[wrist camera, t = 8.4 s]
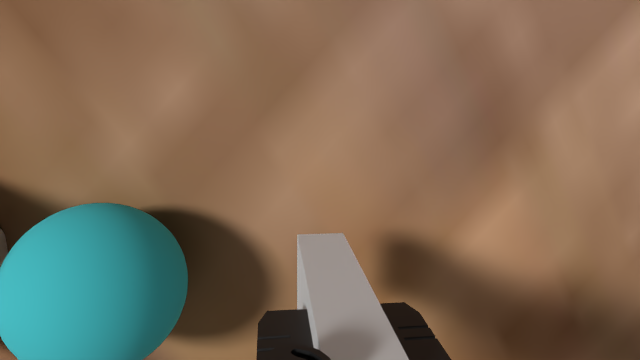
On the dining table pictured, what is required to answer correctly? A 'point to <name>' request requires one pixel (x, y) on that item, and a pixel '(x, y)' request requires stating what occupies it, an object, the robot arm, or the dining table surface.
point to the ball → (92, 286)
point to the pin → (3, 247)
